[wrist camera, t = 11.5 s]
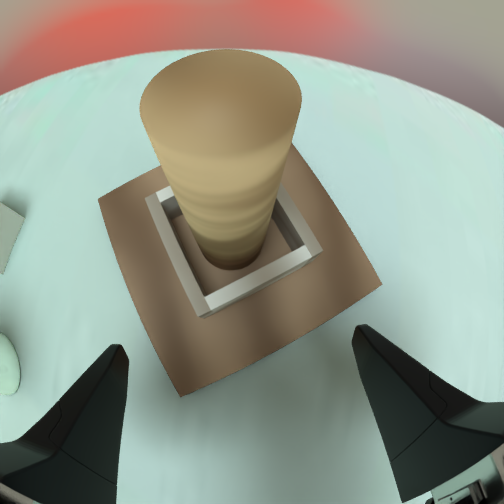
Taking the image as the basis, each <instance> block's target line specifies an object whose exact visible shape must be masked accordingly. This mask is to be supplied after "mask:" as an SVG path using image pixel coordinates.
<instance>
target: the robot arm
mask: <svg viewBox="0 0 504 504" xmlns="http://www.w3.org/2000/svg"><path fill="white" fill-rule="evenodd" d="M352 347H353V351H354V354H355V358H356V362H357V366H358V370H359V374H360V378H361V380H362V383H363V386H364V389H365V391H366V394H367V397H368V399H369V402H370V405H371V408H372V410H373V413H374V416H375V419H376V422H377V425H378V428H379V430H380V433H381V436H382V439H383V442H384V445H385V448H386V451H387V455H388V458H389V461H390V464H391V468H392V471H393V474H394V477H395V481H396V484H397V488H398V491H399V494H400V498H401V501H402V503H404V502H407V501H409V500H411V499H413V498H416V497H418V496H420V495H422V494H424V493H426V492H428V491H431V493H432V496H433V497H432V498H430V499H428V500H427V501H426V503H425V504H504V402H490V403H489V402H481V401H478V400H476V399H474V398H472V397H471V396H469V395H467V394H466V393H464V392H462V391H460V390H459V389H457V388H455V387H454V386H452V385H450V384H449V383H447V382H446V381H444V380H443V379H441V378H440V377H438V376H437V375H436V374H434V373H433V372H432V371H429V369H427V368H426V367H425V366H423V365H422V364H421V363H419V362H418V361H416V360H415V359H414V358H412V357H411V356H410V355H408V354H407V353H406V352H404V351H403V350H401V349H400V348H399V347H397V346H396V345H395V344H393V343H392V342H390V341H389V340H388V339H386V338H385V337H384V336H382V335H381V334H379V333H378V332H377V331H375V330H374V329H373V328H371V327H370V326H368V325H367V324H363V325H358V326H356V328H355V331H354V335H353V338H352ZM128 370H129V359H128V356H127V354H126V352H125V350H124V348H123V347H122V345H121V344H111V345H110V346H109V347H108V348H107V349H106V350H105V351H104V352H103V353H102V354H101V355H100V356H99V357H98V358H97V359H96V361H95V362H94V363H93V364H92V365H91V366H90V367H89V368H88V369H87V370H86V371H85V372H84V373H83V374H82V375H81V376H80V378H79V379H78V380H77V381H76V382H75V383H74V384H73V385H72V386H71V387H70V388H69V389H68V391H67V392H66V393H65V394H64V395H63V396H62V397H61V398H60V399H59V401H57V402H56V404H55V405H54V406H53V407H52V408H51V409H50V410H49V411H48V412H47V413H46V414H45V415H44V416H43V417H42V418H41V419H40V420H39V421H38V422H37V423H36V424H35V425H34V426H32V427H31V428H30V429H29V430H28V431H27V432H26V433H25V434H24V435H23V436H21V437H20V438H19V439H17V440H15V441H12V442H6V443H0V504H116V496H117V486H116V485H117V476H118V464H119V453H120V444H121V435H122V427H123V420H124V413H125V406H126V399H127V387H128Z"/></svg>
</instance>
